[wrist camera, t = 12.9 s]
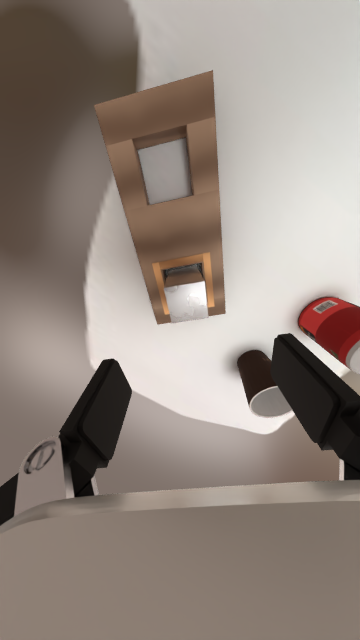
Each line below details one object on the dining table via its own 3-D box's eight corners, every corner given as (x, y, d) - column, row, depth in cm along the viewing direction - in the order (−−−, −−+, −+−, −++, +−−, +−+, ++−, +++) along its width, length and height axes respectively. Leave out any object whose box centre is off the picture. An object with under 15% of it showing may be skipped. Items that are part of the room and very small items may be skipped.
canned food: (289, 329, 32) (337, 371, 22) (312, 291, 28) (383, 322, 18) (323, 335, 32) (384, 379, 23) (350, 299, 29) (437, 333, 19)
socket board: (104, 120, 18) (92, 102, 16) (208, 91, 17) (213, 67, 15) (159, 317, 30) (157, 325, 28) (222, 307, 29) (226, 314, 27)
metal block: (169, 270, 26) (163, 288, 17) (196, 265, 26) (204, 281, 17) (174, 295, 28) (171, 323, 19) (199, 291, 28) (208, 317, 19)
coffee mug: (229, 351, 34) (247, 391, 26) (271, 341, 33) (304, 380, 24) (236, 386, 40) (252, 429, 31) (272, 379, 38) (299, 422, 30)
